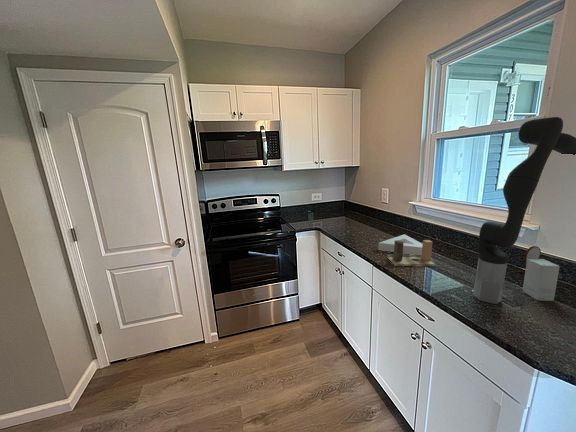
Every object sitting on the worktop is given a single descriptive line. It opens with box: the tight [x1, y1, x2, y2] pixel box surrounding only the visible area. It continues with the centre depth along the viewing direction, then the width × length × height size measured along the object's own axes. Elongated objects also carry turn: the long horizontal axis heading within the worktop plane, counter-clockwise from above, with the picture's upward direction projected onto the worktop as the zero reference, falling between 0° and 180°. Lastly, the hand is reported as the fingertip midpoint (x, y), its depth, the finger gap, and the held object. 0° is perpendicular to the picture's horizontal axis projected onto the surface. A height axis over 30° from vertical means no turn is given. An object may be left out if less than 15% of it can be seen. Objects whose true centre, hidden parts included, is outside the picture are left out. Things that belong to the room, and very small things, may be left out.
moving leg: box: [421, 239, 433, 261], centre depth 143 cm, size 4×6×11 cm, turn 177°
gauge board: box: [386, 254, 436, 268], centre depth 144 cm, size 22×12×2 cm, turn 87°
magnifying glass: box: [523, 245, 542, 264], centre depth 111 cm, size 9×2×20 cm, turn 103°
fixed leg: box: [392, 240, 404, 261], centre depth 144 cm, size 4×6×11 cm, turn 177°
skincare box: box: [522, 258, 561, 302], centre depth 105 cm, size 8×7×16 cm
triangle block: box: [377, 234, 423, 255], centre depth 168 cm, size 30×26×6 cm
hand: (569, 217), depth 119 cm, fingers open, 8 cm apart
